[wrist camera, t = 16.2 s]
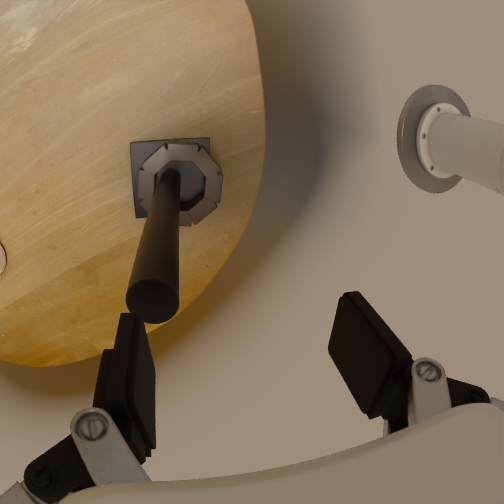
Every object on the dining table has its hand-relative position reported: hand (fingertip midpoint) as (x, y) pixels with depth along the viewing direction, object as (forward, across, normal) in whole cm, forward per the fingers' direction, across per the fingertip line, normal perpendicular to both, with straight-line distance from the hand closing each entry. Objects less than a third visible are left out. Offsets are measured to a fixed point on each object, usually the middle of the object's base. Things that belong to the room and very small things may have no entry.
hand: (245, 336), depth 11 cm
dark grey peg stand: (+28, +4, 0) cm, 28 cm away
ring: (+27, +2, 0) cm, 27 cm away
